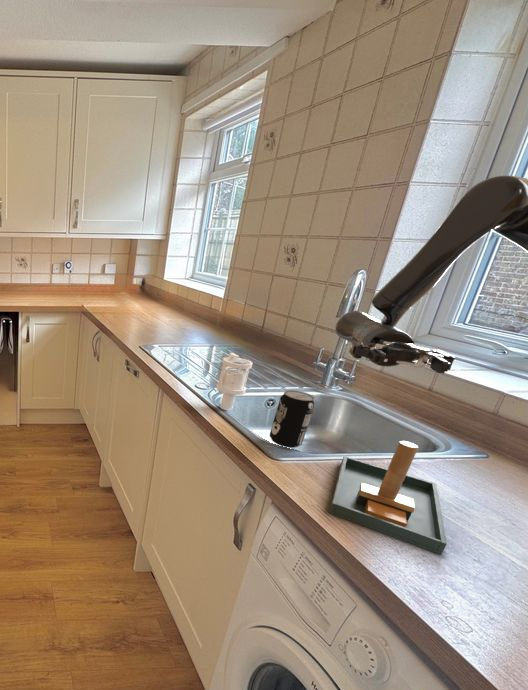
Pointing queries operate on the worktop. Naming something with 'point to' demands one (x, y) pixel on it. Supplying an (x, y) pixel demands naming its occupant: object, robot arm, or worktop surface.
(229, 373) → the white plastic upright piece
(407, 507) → the brush
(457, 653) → the worktop surface
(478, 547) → the worktop surface
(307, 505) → the worktop surface
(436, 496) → the tray
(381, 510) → the orange wooden block
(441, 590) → the worktop surface
